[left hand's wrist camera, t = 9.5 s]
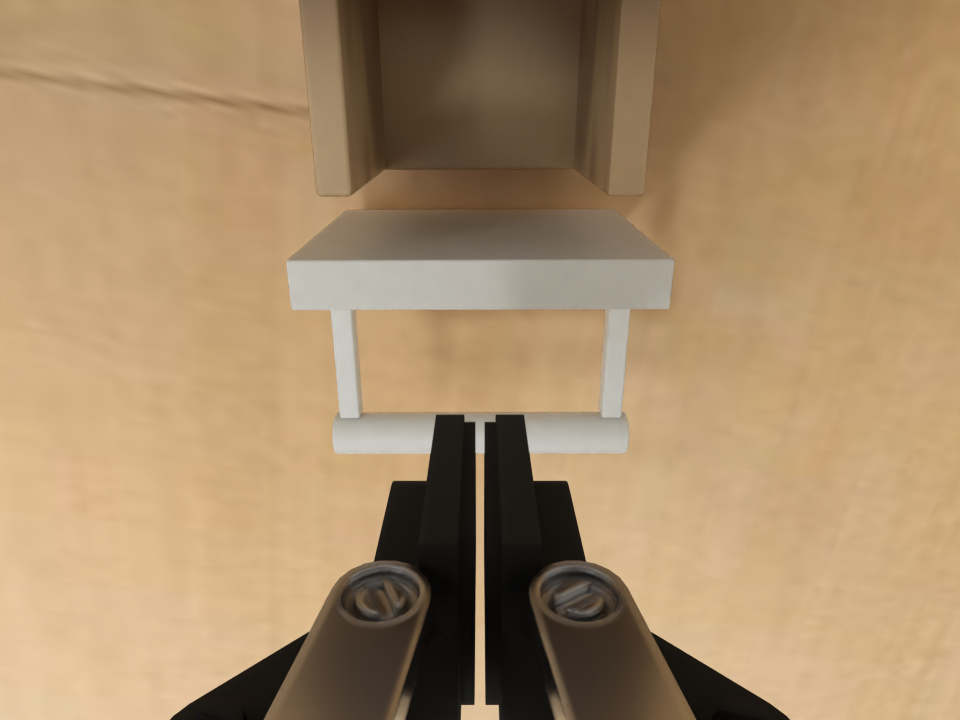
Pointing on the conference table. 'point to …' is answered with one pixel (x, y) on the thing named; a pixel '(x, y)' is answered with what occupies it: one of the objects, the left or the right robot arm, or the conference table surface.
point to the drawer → (480, 145)
